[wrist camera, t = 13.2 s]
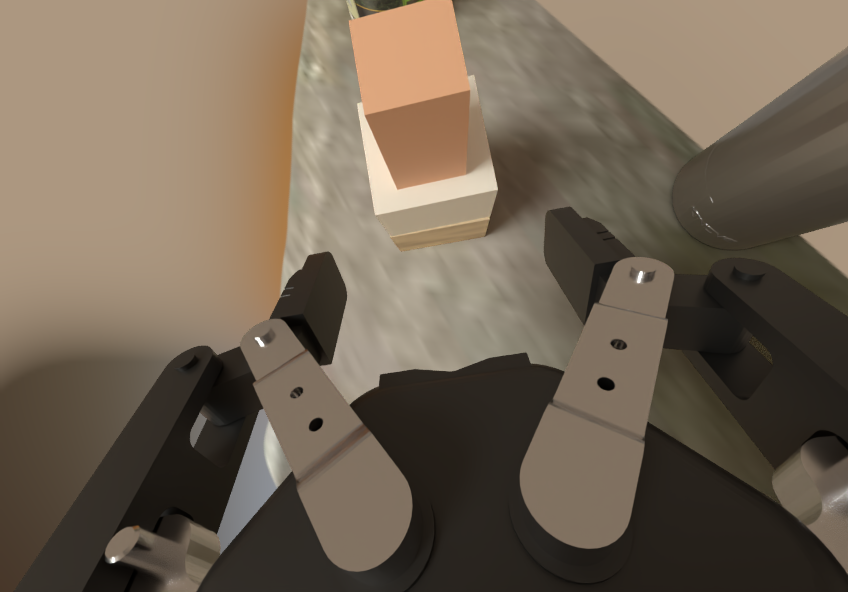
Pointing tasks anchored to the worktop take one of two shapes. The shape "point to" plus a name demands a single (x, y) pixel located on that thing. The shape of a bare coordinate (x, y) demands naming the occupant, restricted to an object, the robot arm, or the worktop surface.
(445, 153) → the peach block
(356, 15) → the coffee can
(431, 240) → the oak tower block
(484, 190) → the cream tower block
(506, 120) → the worktop surface
